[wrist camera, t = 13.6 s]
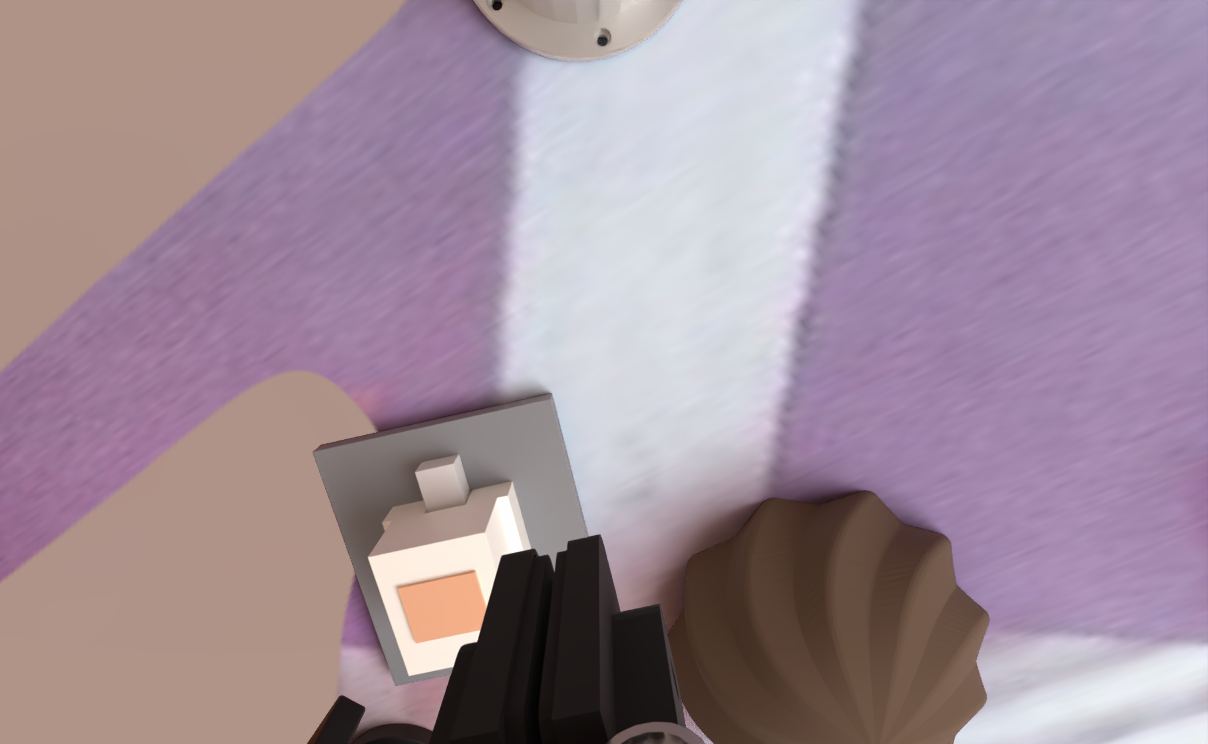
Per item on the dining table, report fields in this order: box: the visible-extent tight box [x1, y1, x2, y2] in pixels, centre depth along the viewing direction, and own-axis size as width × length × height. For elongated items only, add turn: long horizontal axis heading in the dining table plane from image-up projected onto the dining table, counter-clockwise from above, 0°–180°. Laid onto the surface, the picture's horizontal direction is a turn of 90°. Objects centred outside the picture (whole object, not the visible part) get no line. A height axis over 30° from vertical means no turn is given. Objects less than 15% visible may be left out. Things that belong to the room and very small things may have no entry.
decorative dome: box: [668, 491, 990, 744], centre depth 37 cm, size 19×20×10 cm
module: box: [368, 481, 531, 676], centre depth 36 cm, size 7×7×6 cm
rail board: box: [313, 393, 589, 686], centre depth 39 cm, size 16×14×3 cm
